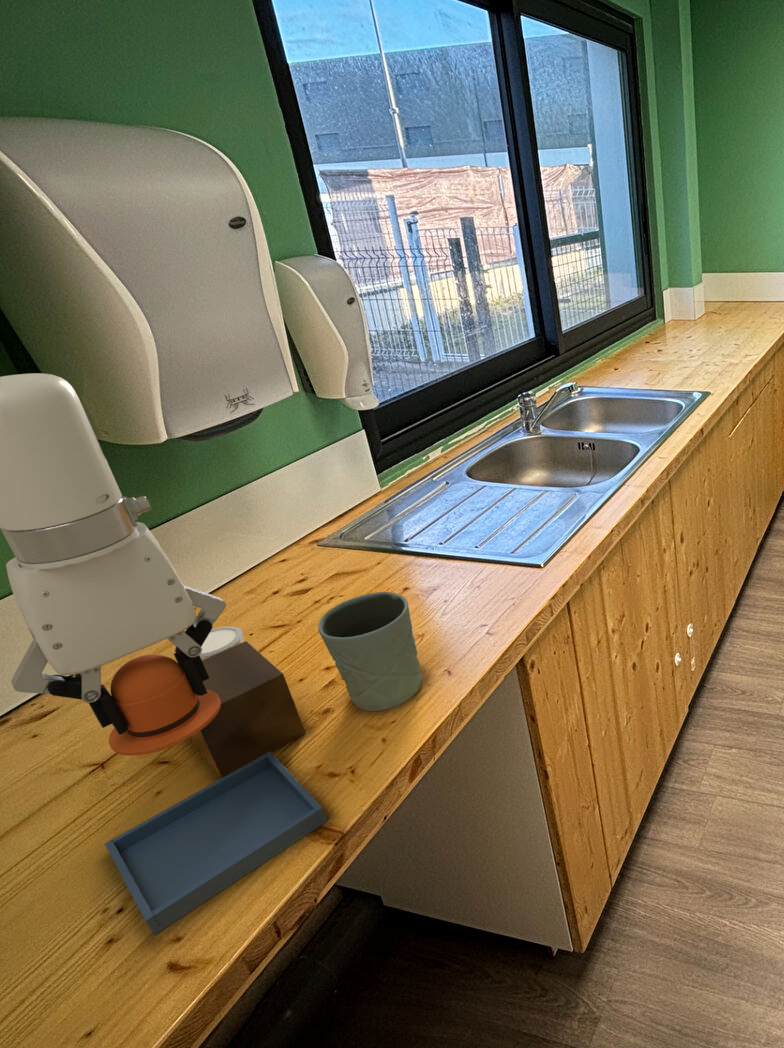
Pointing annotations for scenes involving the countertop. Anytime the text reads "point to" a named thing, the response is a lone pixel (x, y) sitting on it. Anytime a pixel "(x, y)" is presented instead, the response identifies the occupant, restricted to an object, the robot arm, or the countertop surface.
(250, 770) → the tray
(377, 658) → the grey-green cup
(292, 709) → the stand block
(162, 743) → the hat
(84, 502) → the robot arm
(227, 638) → the shot glass
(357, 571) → the countertop surface
